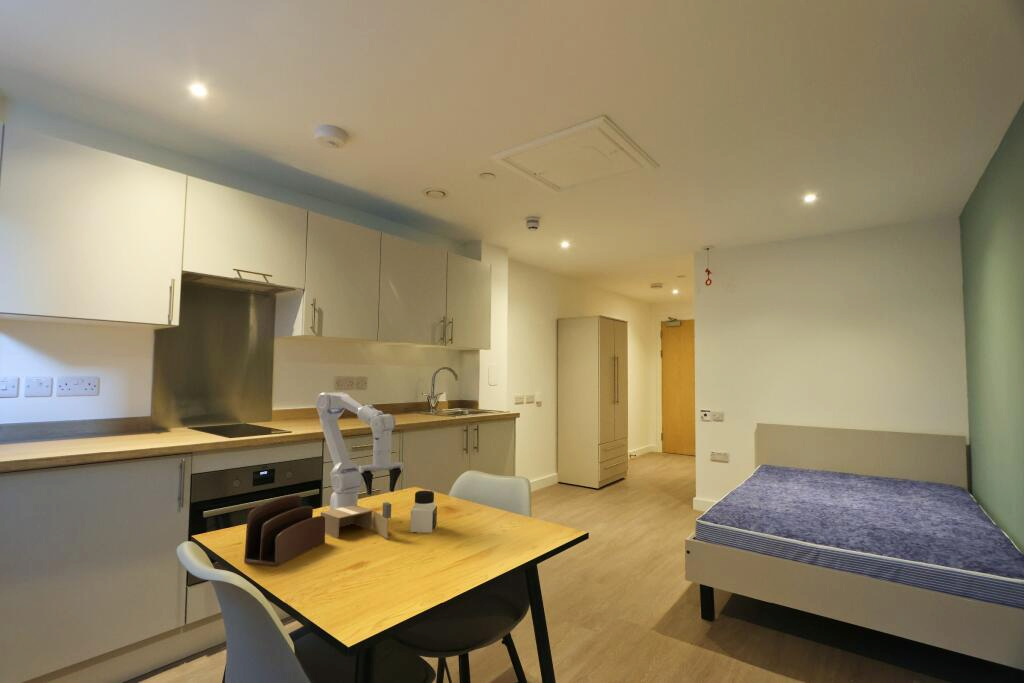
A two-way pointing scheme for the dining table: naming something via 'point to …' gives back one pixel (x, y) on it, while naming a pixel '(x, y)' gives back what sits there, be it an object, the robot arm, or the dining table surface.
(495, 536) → the dining table surface
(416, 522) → the medicine bottle
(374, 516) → the side flap
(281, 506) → the letter holder
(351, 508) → the carton
